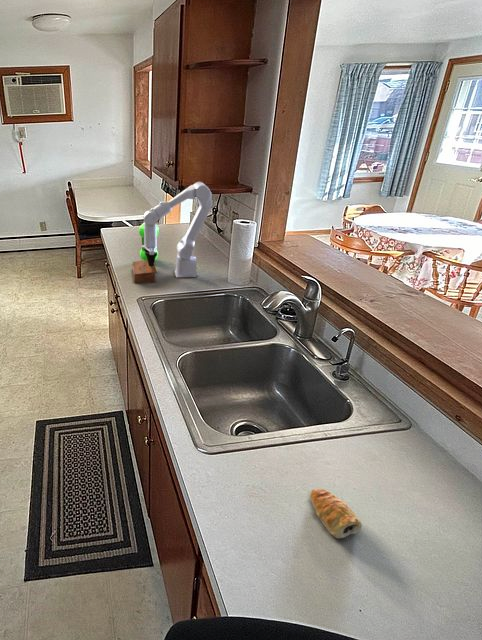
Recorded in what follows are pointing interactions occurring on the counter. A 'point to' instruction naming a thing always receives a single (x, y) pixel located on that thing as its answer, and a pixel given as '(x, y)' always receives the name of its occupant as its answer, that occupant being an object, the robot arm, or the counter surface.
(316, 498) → the pastry
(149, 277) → the brown wooden box
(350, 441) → the counter surface
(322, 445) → the counter surface
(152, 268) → the lid
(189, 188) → the robot arm
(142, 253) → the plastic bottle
